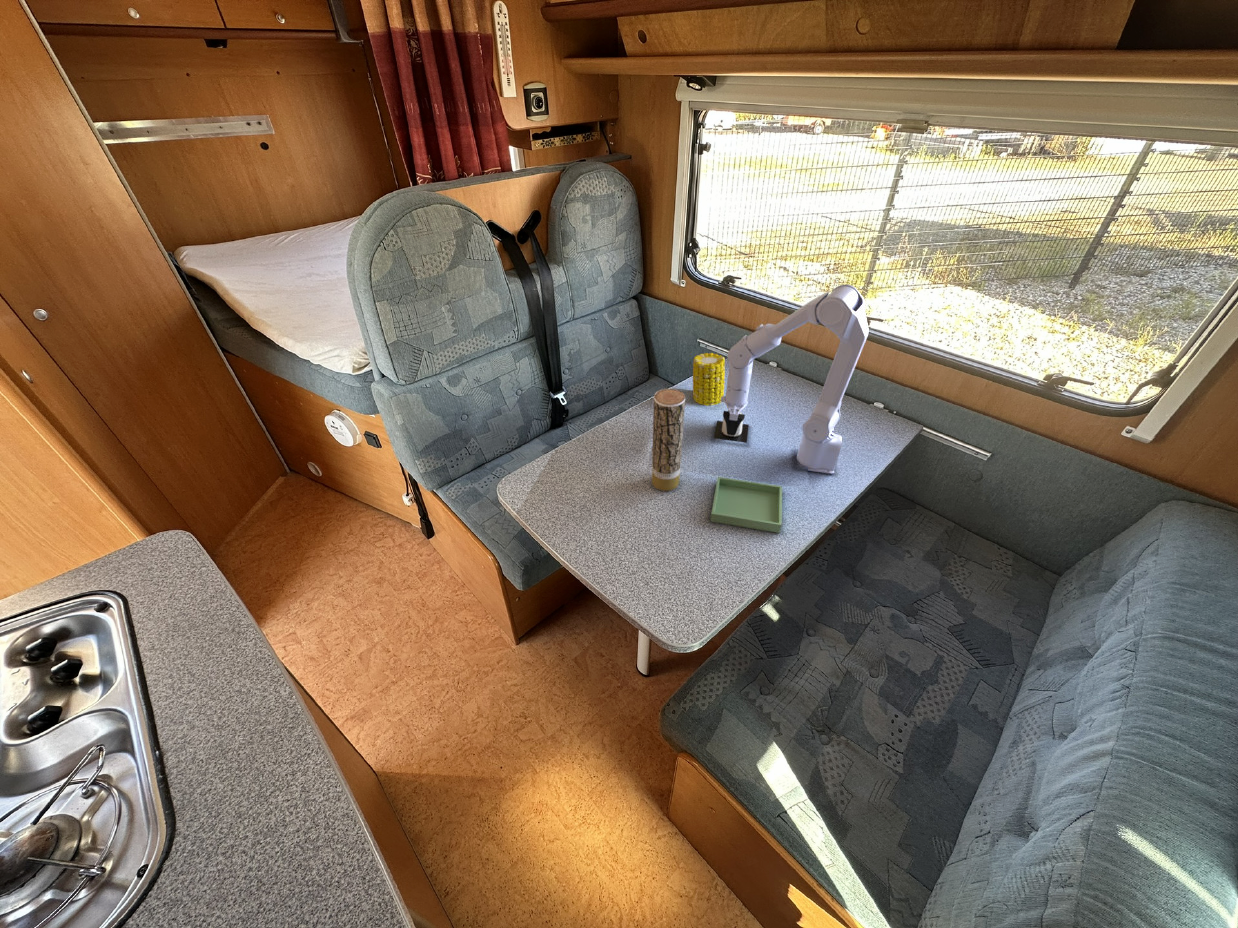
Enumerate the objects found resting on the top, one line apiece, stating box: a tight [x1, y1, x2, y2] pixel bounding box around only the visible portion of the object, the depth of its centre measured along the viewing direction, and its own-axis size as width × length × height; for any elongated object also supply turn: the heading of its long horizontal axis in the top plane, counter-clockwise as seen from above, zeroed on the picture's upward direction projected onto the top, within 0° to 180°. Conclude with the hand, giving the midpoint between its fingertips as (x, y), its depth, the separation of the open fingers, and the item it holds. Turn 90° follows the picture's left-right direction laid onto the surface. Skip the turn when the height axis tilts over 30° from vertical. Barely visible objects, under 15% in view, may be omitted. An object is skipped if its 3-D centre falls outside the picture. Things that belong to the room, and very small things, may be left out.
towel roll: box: [722, 412, 744, 437], centre depth 136 cm, size 5×5×5 cm
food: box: [692, 352, 726, 407], centre depth 148 cm, size 15×12×10 cm
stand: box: [713, 420, 750, 444], centre depth 136 cm, size 9×9×8 cm
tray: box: [710, 476, 783, 534], centre depth 114 cm, size 15×13×2 cm
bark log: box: [651, 388, 686, 492], centre depth 115 cm, size 7×7×25 cm
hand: (732, 428), depth 137 cm, fingers closed on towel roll, 5 cm apart
